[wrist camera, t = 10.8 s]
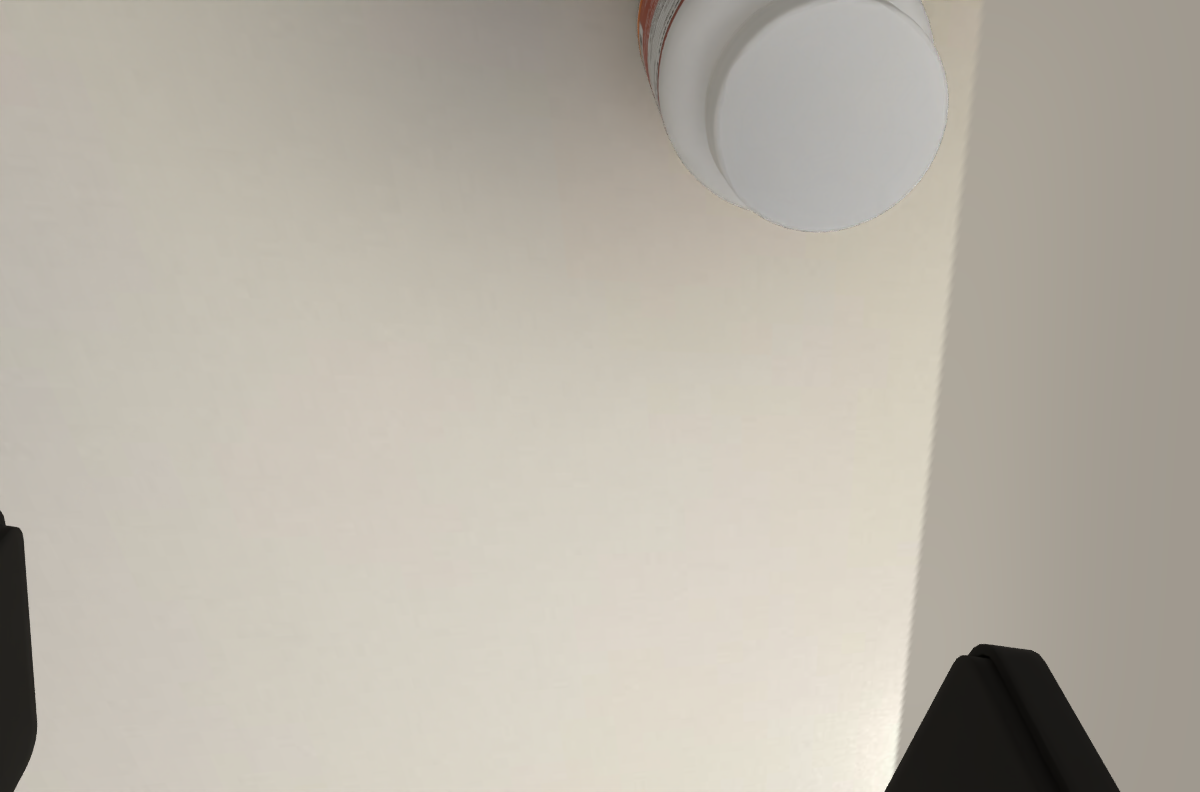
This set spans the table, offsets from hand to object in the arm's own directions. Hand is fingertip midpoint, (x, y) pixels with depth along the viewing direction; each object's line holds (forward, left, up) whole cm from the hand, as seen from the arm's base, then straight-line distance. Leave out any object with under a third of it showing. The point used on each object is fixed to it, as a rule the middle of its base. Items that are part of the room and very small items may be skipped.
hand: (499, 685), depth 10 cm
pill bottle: (-3, +6, -24) cm, 24 cm away
